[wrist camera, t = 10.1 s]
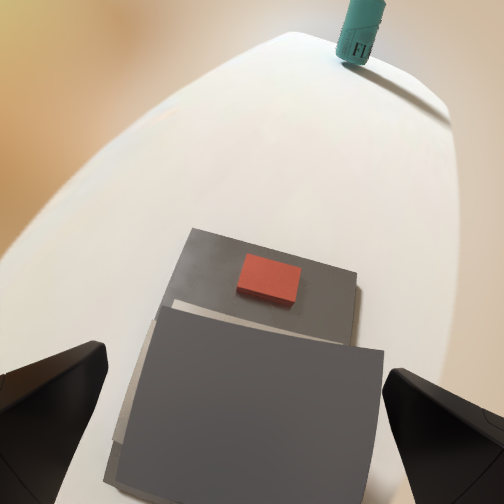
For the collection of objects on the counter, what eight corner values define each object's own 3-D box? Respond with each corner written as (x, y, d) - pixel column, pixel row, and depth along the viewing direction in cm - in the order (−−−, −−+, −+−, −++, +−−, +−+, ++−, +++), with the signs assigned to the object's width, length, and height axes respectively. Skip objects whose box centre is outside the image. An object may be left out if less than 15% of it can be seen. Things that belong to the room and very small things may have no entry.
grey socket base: (300, 526, 11) (315, 543, 9) (108, 478, 12) (89, 488, 9) (351, 279, 21) (369, 259, 18) (193, 235, 21) (191, 209, 18)
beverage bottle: (345, 70, 42) (374, -23, 25) (325, 56, 45) (348, -31, 28) (371, 73, 44) (400, -12, 27) (350, 59, 47) (375, -21, 30)
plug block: (270, 456, 13) (358, 517, 4) (178, 437, 13) (112, 481, 4) (283, 389, 15) (385, 348, 6) (195, 370, 15) (160, 302, 6)
